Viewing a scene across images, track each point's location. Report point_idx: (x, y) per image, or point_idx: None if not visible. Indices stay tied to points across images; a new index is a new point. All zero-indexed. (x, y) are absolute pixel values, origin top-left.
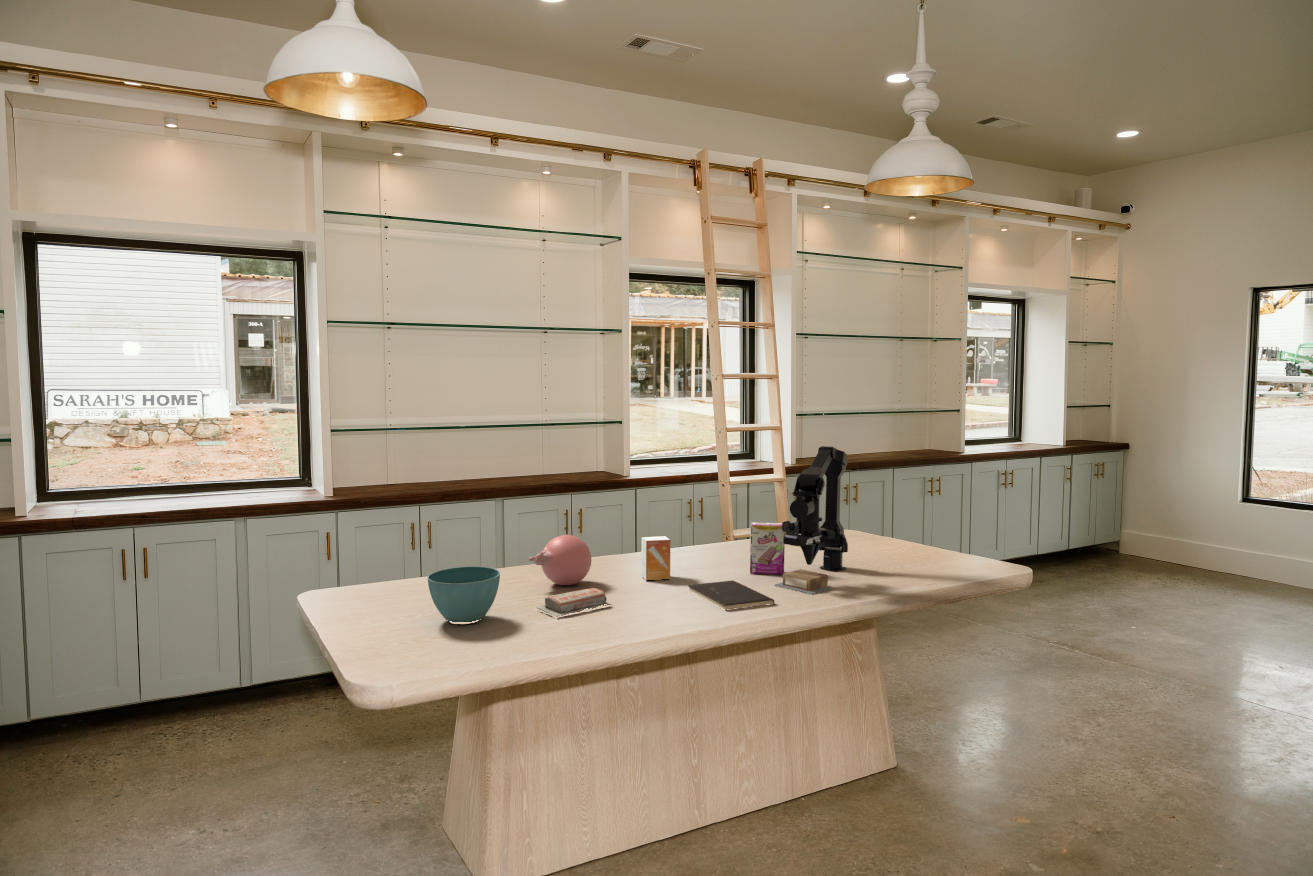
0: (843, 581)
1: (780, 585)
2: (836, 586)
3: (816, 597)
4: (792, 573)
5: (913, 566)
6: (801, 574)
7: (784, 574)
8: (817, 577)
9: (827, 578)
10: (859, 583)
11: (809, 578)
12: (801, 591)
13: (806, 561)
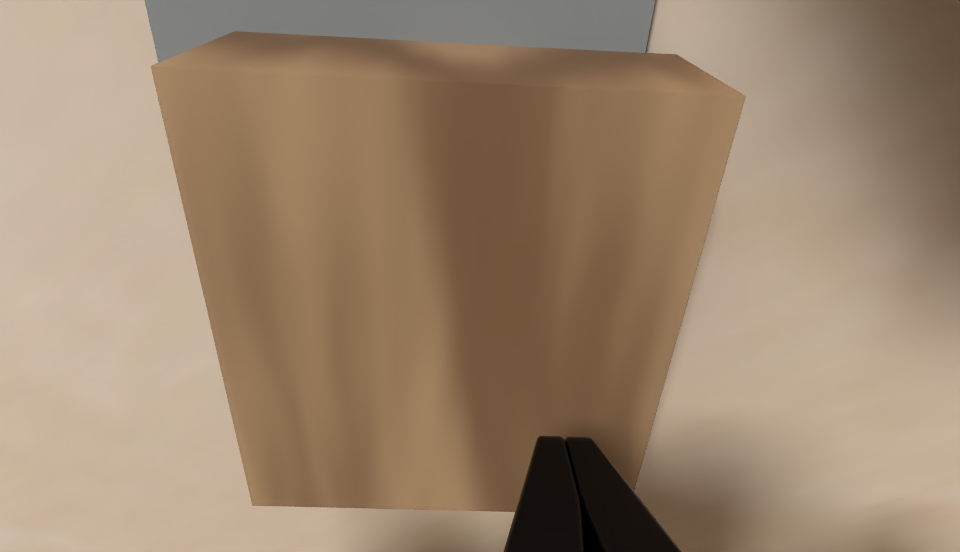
0: (923, 391)
1: (180, 23)
2: (682, 435)
3: (221, 495)
4: (323, 185)
5: None
6: (392, 315)
7: (164, 102)
8: (418, 508)
9: None
10: (906, 498)
11: (297, 479)
12: None
13: (526, 482)
